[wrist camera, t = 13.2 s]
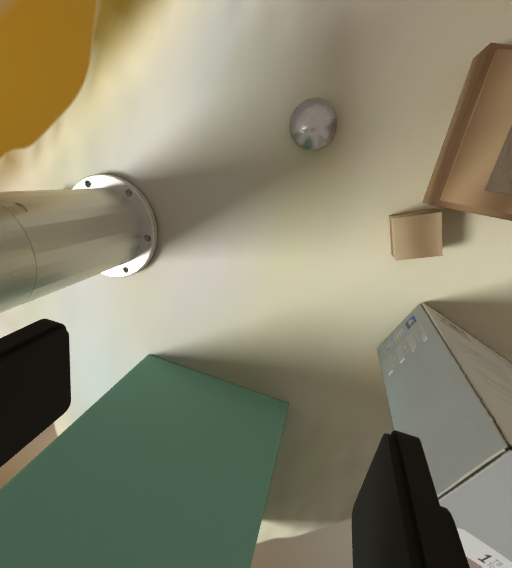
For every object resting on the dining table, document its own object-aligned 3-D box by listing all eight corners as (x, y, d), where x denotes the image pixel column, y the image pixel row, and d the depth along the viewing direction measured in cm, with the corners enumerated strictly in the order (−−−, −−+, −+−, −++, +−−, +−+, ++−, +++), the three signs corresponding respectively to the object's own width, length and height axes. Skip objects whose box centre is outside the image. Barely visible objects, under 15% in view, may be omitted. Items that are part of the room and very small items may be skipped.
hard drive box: (373, 349, 37) (404, 516, 19) (420, 299, 34) (512, 440, 16) (487, 427, 37) (634, 678, 18) (545, 384, 34) (790, 631, 15)
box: (253, 518, 51) (173, 825, 27) (136, 469, 54) (-28, 703, 30) (289, 403, 42) (219, 697, 18) (148, 354, 46) (-66, 548, 22)
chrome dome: (286, 144, 33) (284, 143, 32) (298, 97, 31) (296, 94, 30) (328, 154, 32) (328, 153, 31) (342, 106, 31) (342, 103, 30)
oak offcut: (391, 253, 34) (395, 260, 31) (389, 215, 33) (393, 218, 30) (433, 249, 32) (442, 255, 30) (433, 209, 31) (441, 211, 29)
